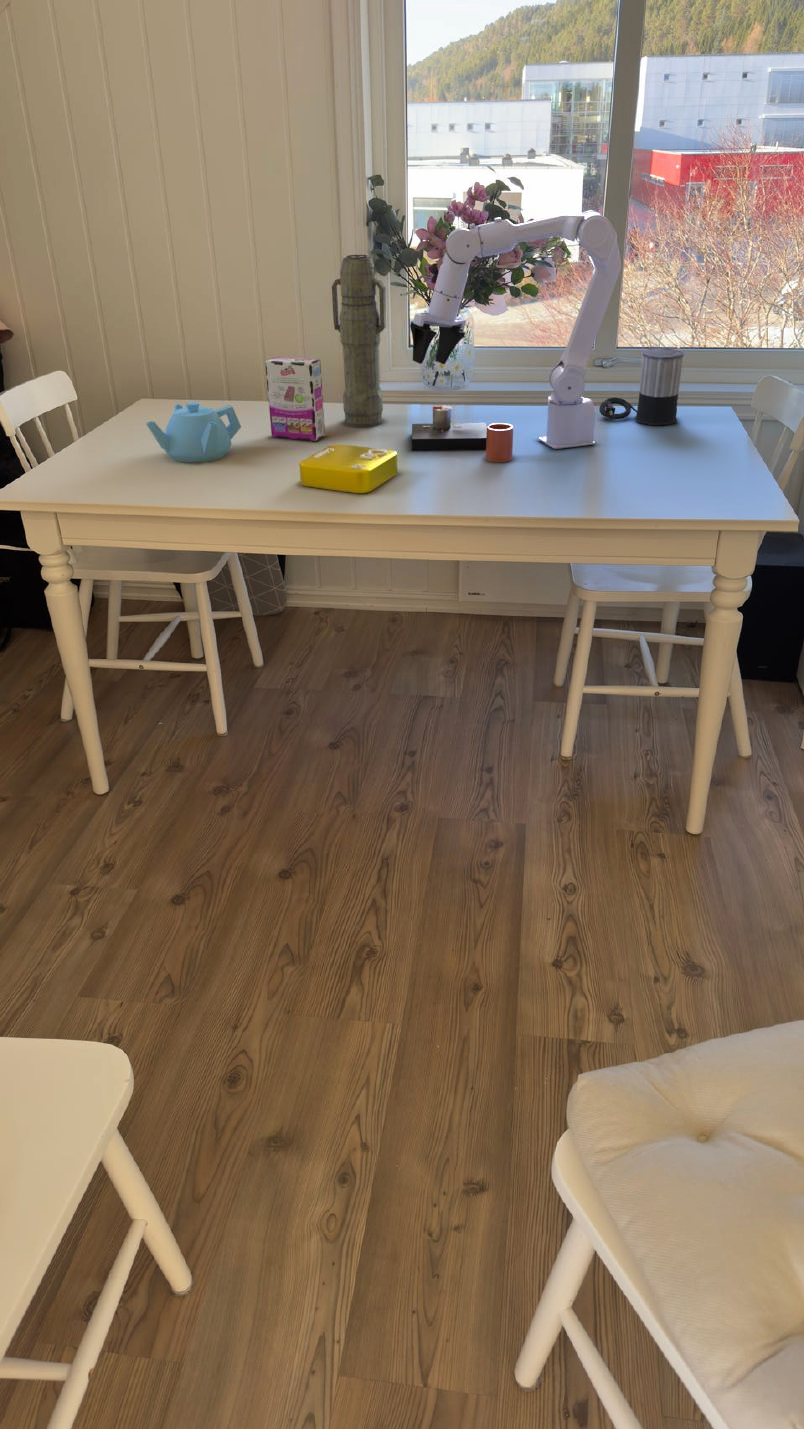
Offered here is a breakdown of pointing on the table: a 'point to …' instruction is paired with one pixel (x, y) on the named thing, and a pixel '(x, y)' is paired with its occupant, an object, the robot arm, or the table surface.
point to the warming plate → (449, 437)
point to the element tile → (348, 468)
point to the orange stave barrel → (499, 442)
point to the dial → (441, 417)
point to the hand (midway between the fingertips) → (428, 362)
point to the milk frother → (653, 389)
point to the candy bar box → (295, 398)
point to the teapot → (197, 433)
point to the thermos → (360, 339)
